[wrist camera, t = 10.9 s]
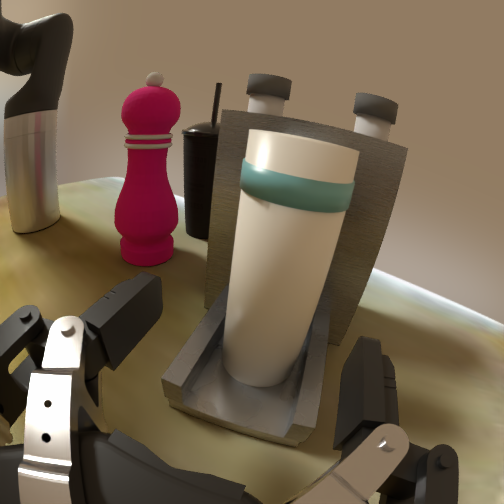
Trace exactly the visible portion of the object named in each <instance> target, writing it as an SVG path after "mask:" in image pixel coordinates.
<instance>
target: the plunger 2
mask: <svg viewBox="0 0 504 504" xmlns="http://www.w3.org/2000/svg"><path fill="white" fill-rule="evenodd" d="M397 109H398V104H397V103H395V102H393V101H392V100H389V99H387V98H384V97H380V96H377V95H372V94H367V93H356V98H355V105H354V111H353V113H355V114H356V115H357V117H356V123H355V128H354V132H357V133H360V134H364V135H367V136H371V137H374V138H378V139H381V140H384V141H387V142H388V136H389V132H390V126H391V124H395V121H396V116H397Z"/></svg>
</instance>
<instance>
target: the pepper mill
mask: <svg viewBox="0 0 504 504" xmlns="http://www.w3.org/2000/svg"><path fill="white" fill-rule="evenodd" d="M163 80H164V79H163V76H162V74H160V73H159V72H153V73H151V74H149V75H148V77H147V79H146V84H147V86H148V87H144V88H140V89H137V90H135V91H134V92H132V93H131V94H130V95H129V96H128V97H127V98H126V100H125V102H124V104H123V107H122V113H121V117H122V121H123V123H124V124H125V126H126V127H127V129H128V132H129V133H128V134H126V135H125V136H124V137H125V138H126V140H125V142H126V143H125V144H124V146H125V147H126V148H128V166H127V174H126V178H125V182H124V185H123V188H122V190H121V193H120V195H119V198H118V201H117V204H116V208H115V222H114V223H115V227H116V229H117V231H118V232H119V233H120V234H121V235H122V236H123V237H122V238H121V241H120V246H121V255H122V258H123V259H124V260H125V261H126V262H128V263H130V264H133V265H137V266H154V265H158V264H161V263H164V262H166V261H167V260H168V259H170V258H171V256H172V255H173V242H174V240H173V237H172V236H171V235H170V234H171V233H172V232H173V231H174V229H175V228H176V226H177V224H178V208H177V204H176V200H175V197H174V195H173V192H172V190H171V187H170V184H169V181H168V177H167V171H166V158H167V152H168V148H169V147H171V146H172V143H171V138H172V137H173V134H171V133H169V132H170V130H171V128H172V127H173V126H174V125H175V124H176V122H177V121H178V119H179V117H180V109H181V108H180V101H179V99H178V97H177V96H176V94H175V93H174V92H172V91H171V90H169V89H167V88H163V87H160V86H161V85H162V83H163Z"/></svg>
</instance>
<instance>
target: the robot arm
mask: <svg viewBox="0 0 504 504" xmlns="http://www.w3.org/2000/svg"><path fill="white" fill-rule="evenodd" d="M72 38H73V22H72V19H71V17H70V16H69V15H68V14H65V13H58V14H54V15H51V16H47V17H44V18H41V19H38V20H35V21H32V22H30V23H26V24H18V23H14V22H12V21H10V20H8V19H5V18H4V17H3V16H2V13H1V0H0V71H2V72H5V73H7V74H10V75H13V76H22V75H26V74H30V73H31V76H30V78H29V80H28V81H27V82H26V84H25V85H24V86H23V87H22V88H21V89H20V90H19V91H18V92H17V93H16V94H15V95H13V96H12V97H11V98H10V99H9V100H8V101H7V103H6V105H5V113H4V166H5V180H6V190H7V198H8V206H9V213H10V219H11V224H12V229H13V231H15V232H18V233H28V232H34V231H38V230H41V229H44V228H46V227H48V226H50V225H52V224H54V223H55V222H56V221H57V220H58V219H59V218H60V210H59V200H58V187H57V170H56V126H57V108H58V100H59V97H60V94H61V91H62V86H63V80H64V75H65V69H66V65H67V61H68V57H69V53H70V48H71V44H72ZM162 310H163V301H162V285H161V279H160V277H158V276H156V275H153V274H150V273H147V272H144V271H143V272H141V273H139V274H138V275H137V276H136V277H134V278H133V279H132V280H131V279H128V280H126V281H123V282H121V283H119V284H117V285H116V286H115V287H114V288H113V289H111V290H110V292H108V293H106V294H105V295H104V297H102V298H100V299H99V300H98V301H97V302H96V303H95V304H93V305H92V306H91V307H90V308H89V309H87V310H86V311H85V312H84V313H83V314H82V315H81V316H79V317H75V316H64V317H61V318H59V319H58V320H56V321H52V320H48V319H44V318H42V316H41V314H40V311H39V309H38V308H37V307H36V306H34V305H26V306H23V307H21V308H19V309H18V310H17V311H15V312H14V313H13V314H12V315H11V316H10V317H9V318H7V319H6V320H5V321H4V322H3V323H2V324H1V325H0V504H263V503H261V502H260V501H259V500H258V499H257V498H255V497H254V496H252V495H251V494H249V493H247V492H245V491H244V489H245V487H246V485H242V484H239V483H235V482H232V481H229V480H226V479H223V478H220V477H217V476H214V475H211V474H204V473H198V472H192V471H186V470H181V469H176V468H173V467H171V466H169V465H168V464H166V463H165V462H164V461H163V460H161V459H160V458H159V457H158V456H156V455H155V454H154V453H153V452H151V451H150V450H149V449H148V448H147V447H146V446H144V445H143V444H141V443H139V442H138V441H136V440H134V439H132V438H131V437H129V436H127V435H125V434H124V433H122V432H120V431H119V430H117V429H115V430H114V432H113V433H112V434H110V433H108V429H107V425H106V421H105V419H104V415H103V407H102V372H101V369H102V368H103V367H104V366H106V367H108V368H110V369H111V370H113V371H114V370H115V369H116V368H117V367H118V366H119V364H120V363H121V362H122V361H123V360H124V359H125V357H126V356H127V355H128V354H129V353H130V352H131V350H132V349H133V348H134V347H135V346H136V345H137V344H138V342H139V341H140V340H141V339H142V338H143V337H144V336H145V334H146V333H147V332H148V331H149V330H150V329H151V328H152V326H153V325H154V324H155V323H156V322H157V321H158V319H159V318H160V316H161V313H162ZM24 348H26V350H27V352H28V354H29V355H28V356H27V357H26V359H25V360H24V361H23V362H22V363H21V364H20V365H19V366H18V367H17V368H16V369H15V370H14V372H13V373H12V374H9V372H8V366H9V364H10V362H11V361H12V360H13V359H14V358H15V357H16V356H17V355H18V354H19V353H20V352H21V351H22V350H23V349H24ZM26 407H27V409H26V420H25V434H24V444H17V445H9V446H5V444H6V443H7V444H10V443H11V442H12V441H13V436H12V434H11V433H10V428H11V426H12V425H13V424H14V422H15V421H16V420H17V418H18V417H19V416H20V415H21V413H22V412H23V411H24V409H25V408H26ZM333 450H341V451H342V455H341V459H340V460H338V461H337V462H336V463H335V464H334V465H333V466H332V467H330V468H329V469H328V470H327V471H326V472H324V473H323V474H322V475H321V476H320V477H318V478H317V479H316V480H315V481H313V482H312V483H311V484H309V485H308V486H307V487H305V488H304V489H303V490H301V491H300V492H298V493H297V494H295V495H294V496H292V497H291V498H289V499H288V500H286V501H285V502H283V503H282V504H369V503H368V500H369V498H370V497H371V496H372V495H373V494H374V493H375V491H376V492H379V493H381V494H380V500H379V504H458V483H459V468H458V456H457V454H456V452H455V450H454V449H453V448H452V447H450V446H448V445H444V444H441V445H437V446H435V447H434V448H433V449H431V450H428V449H425V448H422V447H420V446H417V445H414V444H412V443H410V442H409V438H408V436H407V434H406V432H405V431H404V430H403V429H402V428H401V427H399V418H398V402H397V390H396V381H395V370H394V366H393V364H392V362H391V360H390V358H389V357H388V356H386V355H382V353H381V344H380V341H379V340H377V339H372V338H368V337H363V336H360V337H359V339H358V340H357V342H356V344H355V346H354V348H353V350H352V351H351V353H350V355H349V357H348V359H347V360H346V362H345V364H344V367H343V370H342V374H341V383H340V394H339V404H338V414H337V422H336V430H335V437H334V444H333Z"/></svg>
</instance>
